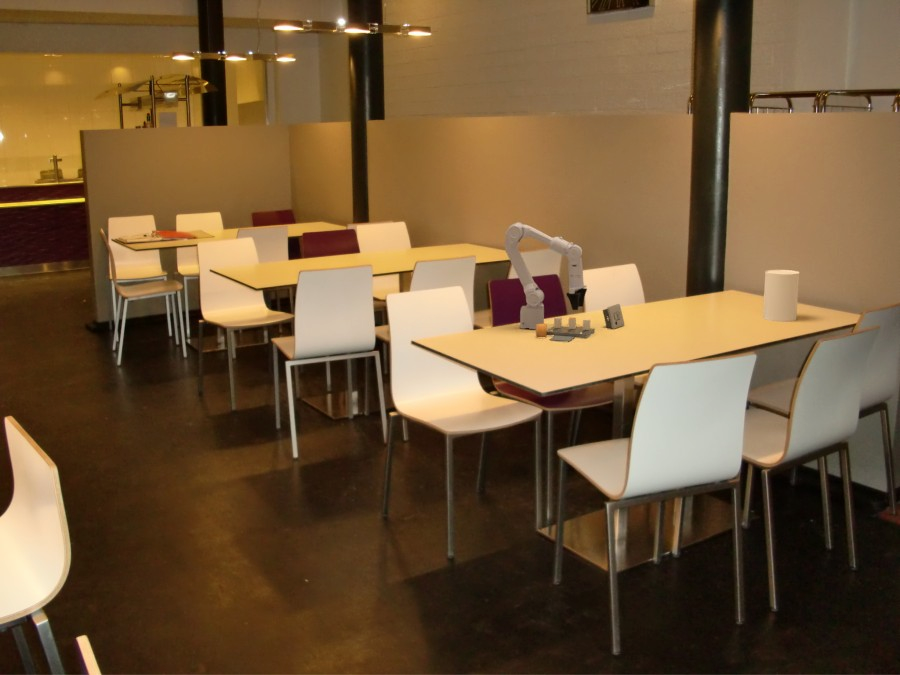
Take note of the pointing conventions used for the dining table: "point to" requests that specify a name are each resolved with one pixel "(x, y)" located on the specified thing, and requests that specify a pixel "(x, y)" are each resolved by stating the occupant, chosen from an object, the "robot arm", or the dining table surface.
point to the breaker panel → (570, 332)
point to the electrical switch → (613, 316)
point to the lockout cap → (541, 330)
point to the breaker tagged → (571, 323)
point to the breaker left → (557, 322)
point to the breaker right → (586, 324)
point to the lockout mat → (562, 338)
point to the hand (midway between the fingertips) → (577, 308)
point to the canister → (780, 295)
